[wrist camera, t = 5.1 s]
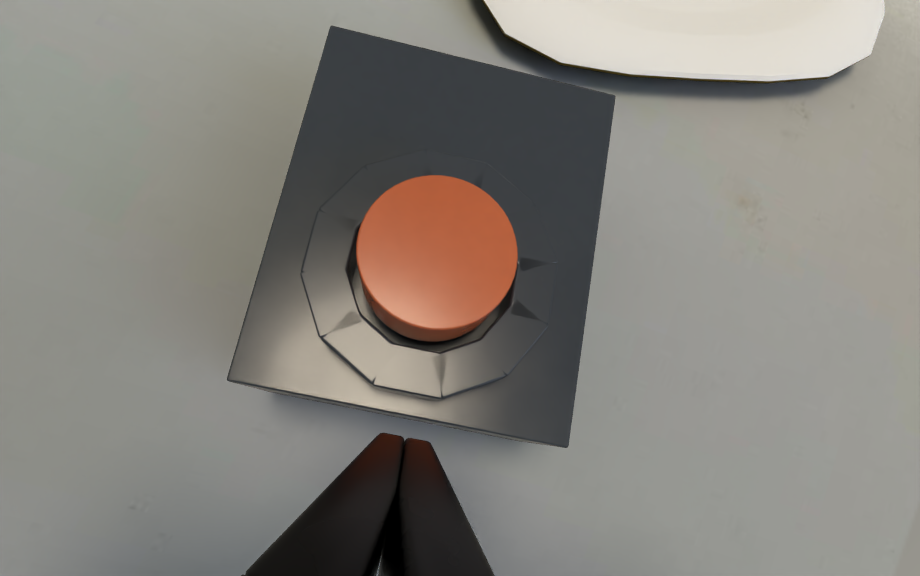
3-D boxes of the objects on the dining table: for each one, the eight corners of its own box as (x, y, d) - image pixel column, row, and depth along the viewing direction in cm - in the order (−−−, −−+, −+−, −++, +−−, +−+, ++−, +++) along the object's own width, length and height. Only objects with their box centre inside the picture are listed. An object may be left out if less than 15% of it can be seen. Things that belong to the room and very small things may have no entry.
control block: (520, 441, 22) (589, 451, 15) (270, 392, 22) (205, 375, 14) (563, 171, 25) (638, 62, 18) (344, 120, 25) (324, -16, 17)
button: (489, 355, 15) (504, 345, 13) (344, 325, 15) (338, 310, 13) (512, 221, 16) (529, 193, 14) (377, 190, 16) (376, 158, 14)
